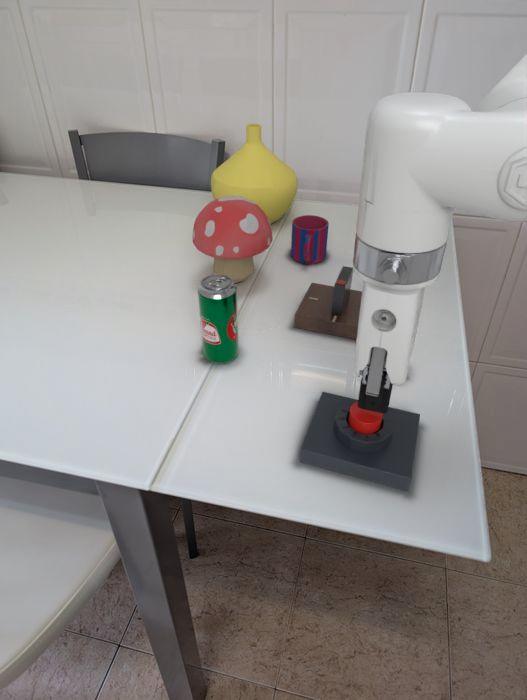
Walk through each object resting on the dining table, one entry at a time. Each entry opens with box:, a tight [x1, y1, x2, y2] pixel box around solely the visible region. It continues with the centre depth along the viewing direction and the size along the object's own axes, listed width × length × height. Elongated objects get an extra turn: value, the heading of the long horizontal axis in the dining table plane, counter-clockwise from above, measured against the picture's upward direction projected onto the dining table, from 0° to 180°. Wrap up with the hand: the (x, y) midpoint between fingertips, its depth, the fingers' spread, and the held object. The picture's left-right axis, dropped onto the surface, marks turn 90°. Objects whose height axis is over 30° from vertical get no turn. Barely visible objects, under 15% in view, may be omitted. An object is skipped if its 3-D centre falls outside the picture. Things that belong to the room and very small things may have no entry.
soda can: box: [197, 273, 240, 365], centre depth 68 cm, size 5×5×12 cm
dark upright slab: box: [331, 265, 354, 315], centre depth 76 cm, size 6×2×5 cm, turn 161°
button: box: [348, 401, 383, 434], centre depth 55 cm, size 4×4×2 cm
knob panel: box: [293, 282, 362, 341], centre depth 78 cm, size 12×10×3 cm
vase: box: [210, 123, 299, 225], centre depth 103 cm, size 18×18×19 cm
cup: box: [290, 214, 330, 265], centre depth 92 cm, size 7×10×7 cm
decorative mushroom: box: [192, 196, 274, 284], centre depth 83 cm, size 13×13×15 cm
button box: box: [299, 391, 421, 492], centre depth 57 cm, size 12×10×4 cm
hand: (373, 405), depth 54 cm, fingers closed
